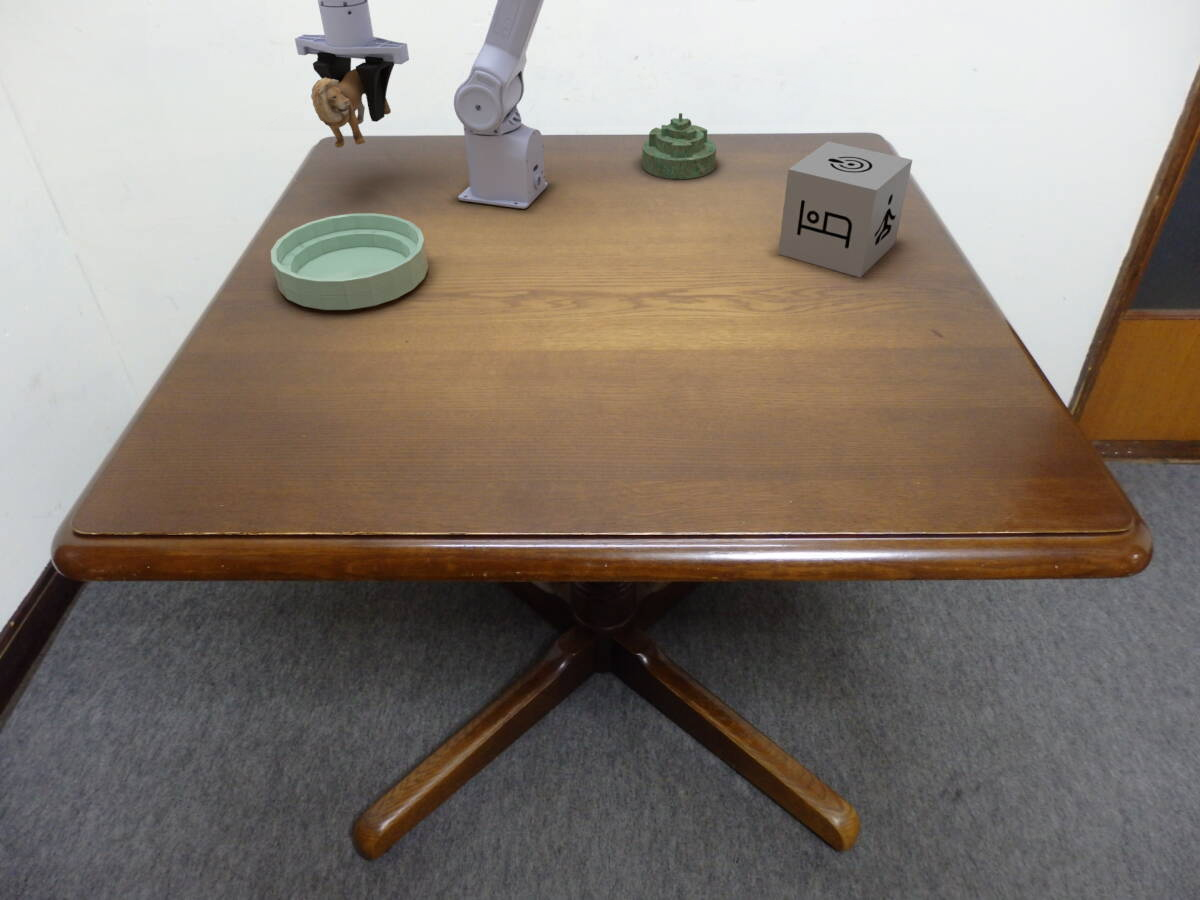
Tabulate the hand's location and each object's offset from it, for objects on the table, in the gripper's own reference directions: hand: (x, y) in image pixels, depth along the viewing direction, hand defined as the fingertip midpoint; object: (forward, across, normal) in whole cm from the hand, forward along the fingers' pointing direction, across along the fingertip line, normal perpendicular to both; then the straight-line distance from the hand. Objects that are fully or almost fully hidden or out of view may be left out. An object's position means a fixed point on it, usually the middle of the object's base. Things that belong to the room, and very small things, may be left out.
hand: (363, 117), depth 116 cm
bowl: (+9, -11, +24) cm, 28 cm away
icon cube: (+9, -61, 0) cm, 62 cm away
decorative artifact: (+9, -37, -18) cm, 42 cm away
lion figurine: (+2, -1, +2) cm, 3 cm away
